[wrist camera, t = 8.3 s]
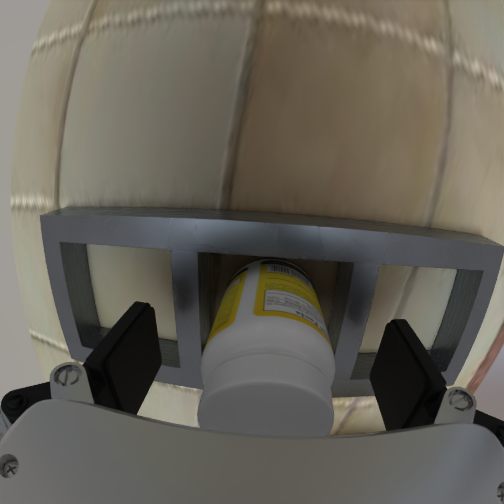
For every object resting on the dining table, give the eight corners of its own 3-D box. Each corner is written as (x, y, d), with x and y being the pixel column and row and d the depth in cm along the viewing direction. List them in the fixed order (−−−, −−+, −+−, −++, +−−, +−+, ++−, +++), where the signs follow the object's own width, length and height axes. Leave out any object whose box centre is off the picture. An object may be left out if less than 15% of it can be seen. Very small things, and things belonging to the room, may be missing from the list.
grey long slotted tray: (65, 207, 14) (39, 215, 12) (481, 235, 13) (505, 246, 10) (88, 339, 17) (71, 358, 15) (439, 364, 16) (453, 385, 13)
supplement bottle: (242, 343, 16) (219, 468, 8) (213, 271, 15) (151, 383, 7) (324, 323, 15) (353, 450, 7) (303, 244, 14) (335, 350, 6)
